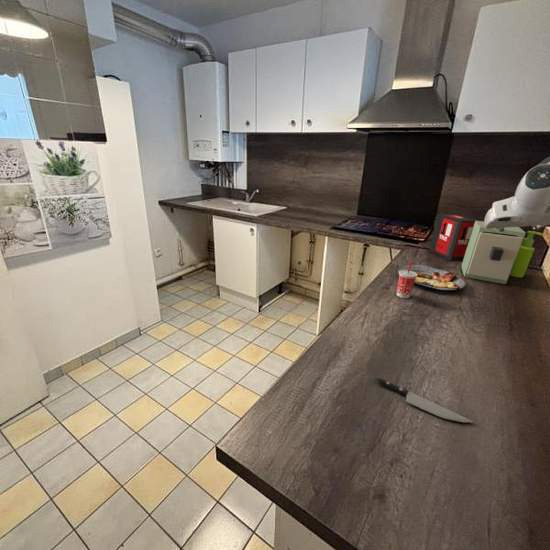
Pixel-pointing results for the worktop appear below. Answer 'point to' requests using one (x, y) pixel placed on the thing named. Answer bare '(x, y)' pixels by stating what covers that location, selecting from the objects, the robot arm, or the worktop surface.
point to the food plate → (436, 278)
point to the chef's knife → (426, 404)
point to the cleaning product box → (451, 236)
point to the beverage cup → (406, 282)
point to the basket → (494, 255)
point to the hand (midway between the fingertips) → (517, 229)
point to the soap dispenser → (524, 255)
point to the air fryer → (472, 243)
